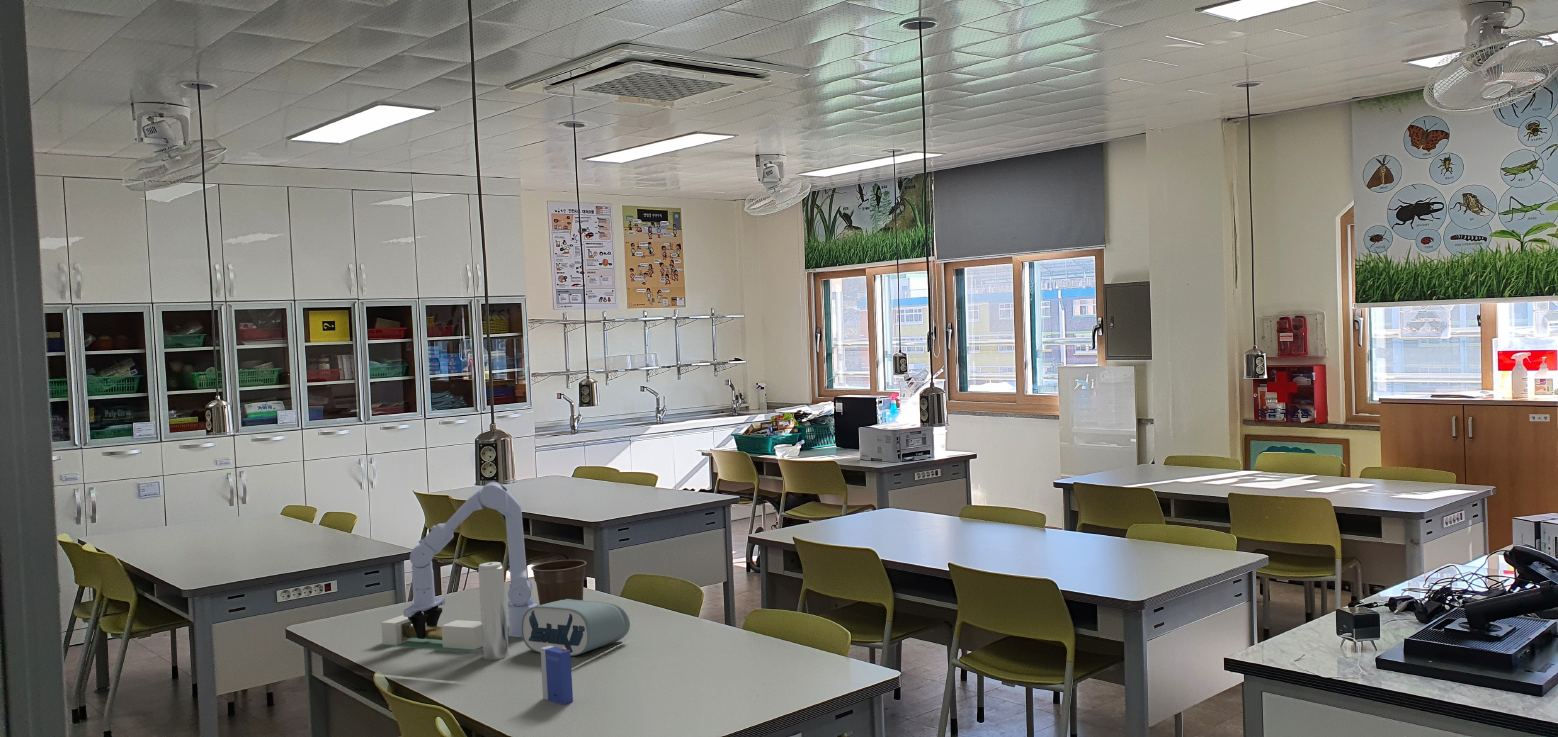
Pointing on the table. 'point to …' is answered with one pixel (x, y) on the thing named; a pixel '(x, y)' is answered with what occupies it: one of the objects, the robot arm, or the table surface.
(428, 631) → the tube
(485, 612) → the white tall cylinder
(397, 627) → the socket
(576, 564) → the plant pot
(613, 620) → the pencil case
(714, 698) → the table surface
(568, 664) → the walkman
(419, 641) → the mat
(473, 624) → the sleeve
